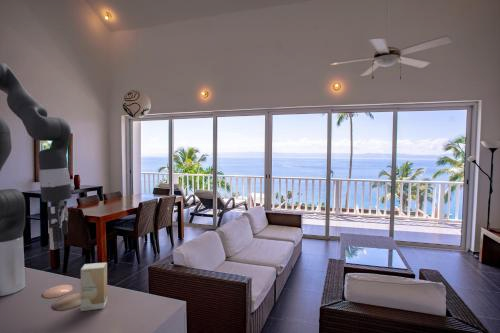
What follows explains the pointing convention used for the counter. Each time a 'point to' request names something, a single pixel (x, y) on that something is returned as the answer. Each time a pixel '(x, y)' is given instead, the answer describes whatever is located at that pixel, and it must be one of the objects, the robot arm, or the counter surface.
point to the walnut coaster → (68, 302)
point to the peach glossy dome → (57, 291)
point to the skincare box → (93, 286)
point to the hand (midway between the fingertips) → (61, 237)
